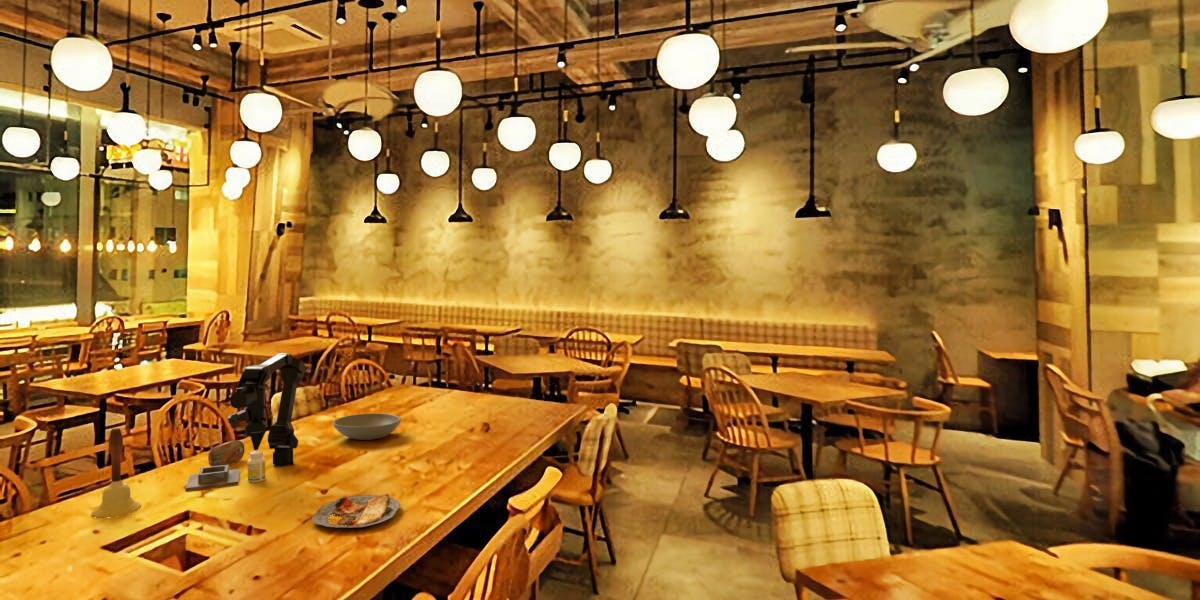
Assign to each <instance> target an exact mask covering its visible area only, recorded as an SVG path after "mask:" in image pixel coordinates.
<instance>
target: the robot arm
mask: <svg viewBox="0 0 1200 600" xmlns="http://www.w3.org/2000/svg"><path fill="white" fill-rule="evenodd" d="M306 368H307V367H306V364H305V363H304V362H303V361H302V360H300V359H299V358H296V357H294V356H293V355H292V354H290V353H286V352H283V353H282V352H281V353H280V352H279V353H276V354H275V356H272V357H270V358H269V359H267V360H266V361H264V362H262V363H260V364H254V365H248V366H246V367H245V368H244V369H243V371H242V373H241V376H240V377H239V381H238V382H237V383H238V384H237V385H236V388H235V391H234V392H233V393H232V394H231V396H230V398H229V403H230V406H231V407H233V408H234V409H237V410H238V411H237V412H235V413H232V414H230V415H228V416H227V418H226V419H227V421H228V423H229V425H230V428H231V427H234V426H236V425H238V424H240V423H243V422H245V426H244V433H245V434H246V435H247V436H249V437H250V439H251V443H252V448H253V451H259V448H260V445H261V444H262V441H263V439H264V437H265V434H266V432H267V423H266V422H267V414H266V388H268V387H269V385H268V384H267V382H268V381H269V380H270V379H271V375H272V374H273V373H274V372H276V371H279V377H280V379H281V381H282V383H283V384H282V388H281V389H282V390H281V395H280V401H279V405H278V406H279V407H278V411H277V418H276V421H275V422H274V424H271V425H270V426H269V430H268V434H267V443H268V448H269V450H274V451H272V465H274V466H273V467H275V468H276V467H285V466H293V465H294V449H295V450H296V449H297V448H298V446H299V440H298V438H297V437H296V435H295V428H294V426H293V424H292V419H293V412H294V406H295V400H296V393H297V388H298V384H300V383H301V381H302V380H303V379H304V375H305V372H306V370H307V369H306ZM243 408H244V409H243ZM241 409H243V410H241ZM239 410H240V411H239Z"/></svg>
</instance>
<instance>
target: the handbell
mask: <svg viewBox="0 0 1200 600" xmlns="http://www.w3.org/2000/svg"><path fill="white" fill-rule="evenodd" d="M122 434H123V433H122V431H121V428H119V427H118V428H117V427H116V428H112V429H111V430H110V433H109V438H108V452H109V454H110V458H111V483H110V484H109V485H108V486H106V487H105V488H104V489H103V491H102V497H101V500H102V501H101V503H100V504H99V506H97V507H96V508H95V509H93V510H92V511H91V513H90V515H91V516H92V517H91V516H90V517H91V518H93V517H96V518H95V519H99V518H105V519H108V518H107V517H114V518H117V517H116V516H120V517H123V516H122V515H124V516H127V515H126V514H128V515H130V514H129V513H131V514H133V513H132V512H134V511H136V510H138V509H139V510H140V508H141V506H143V505H142V504H141V503H140V502H139V501H136V500H134V499H133V498H132V497H131V488H130V485H128V484H126V483H124V482H122V480H121V479H122V478H121V476H122V468H121V464H122V463H121V462H122V461H121V460H122V459H121V456H122V452H123V448H124V439H123V435H122ZM141 509H142V508H141ZM139 510H138V511H139ZM136 512H137V511H136ZM134 513H135V512H134Z"/></svg>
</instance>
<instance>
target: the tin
mask: <svg viewBox="0 0 1200 600" xmlns="http://www.w3.org/2000/svg"><path fill="white" fill-rule="evenodd" d="M245 450H246V449H245V443H243V442H242V441H241V440H239V439H237V440H229V441H227V442H223V443H220V444H218V445H215V446H213V447H212V448H211V450H209V453H208V454H207V455H208V457H207V461H208V465H209V467H212V466H221V465H229V466H231V465H233V463H234V464H237V463H239V462H240V461H241V460H242V458H243V457H244V454H245ZM238 461H239V462H238Z"/></svg>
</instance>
